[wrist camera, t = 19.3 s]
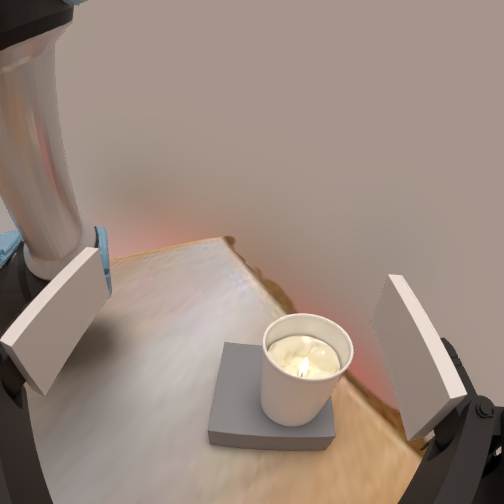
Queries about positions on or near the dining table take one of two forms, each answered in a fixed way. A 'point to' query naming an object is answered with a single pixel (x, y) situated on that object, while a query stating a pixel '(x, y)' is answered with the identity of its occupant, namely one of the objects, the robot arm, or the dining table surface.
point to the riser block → (257, 409)
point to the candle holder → (301, 366)
